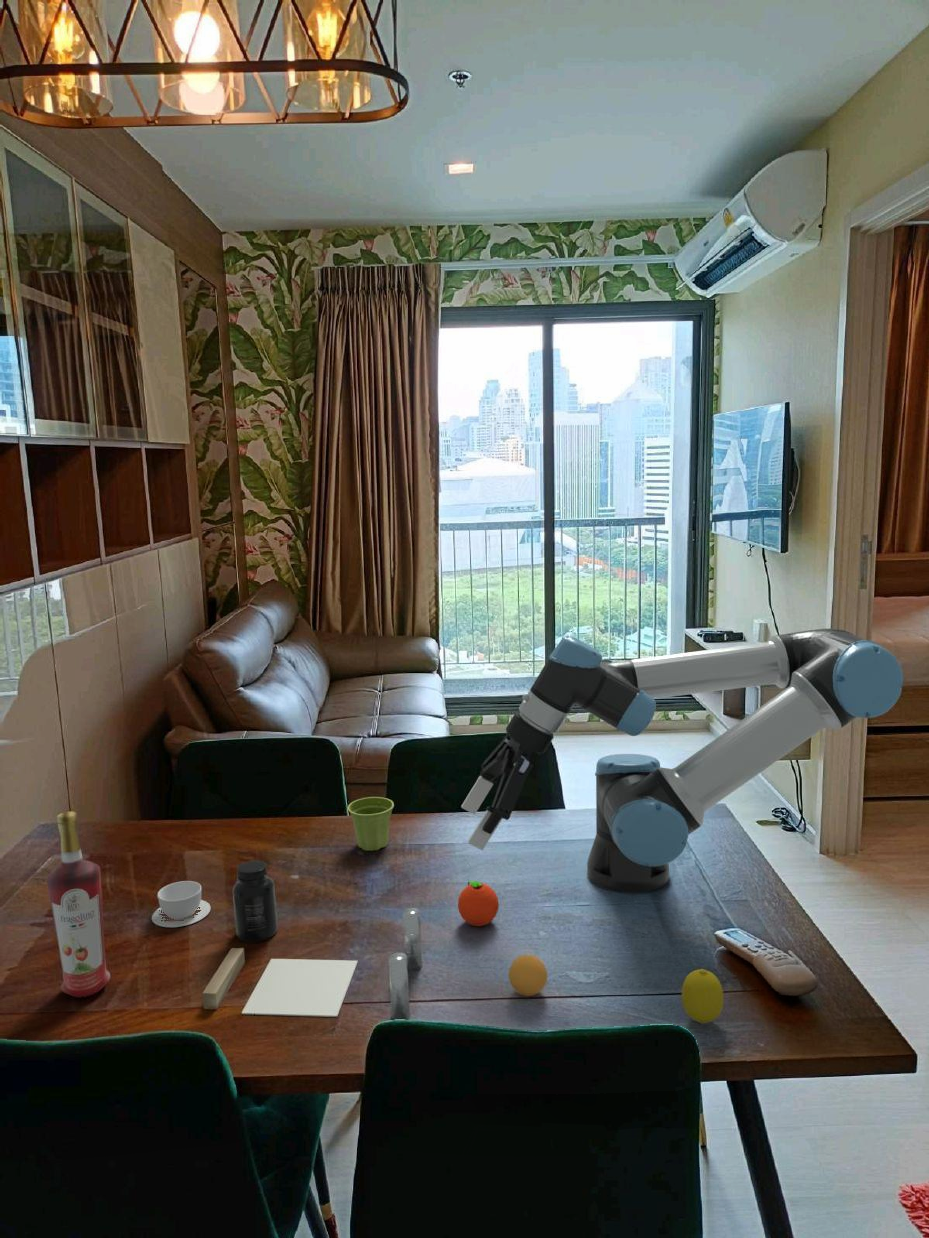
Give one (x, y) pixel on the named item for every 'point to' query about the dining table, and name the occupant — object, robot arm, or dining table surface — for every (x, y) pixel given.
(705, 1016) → the lemon
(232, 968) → the wall
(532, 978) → the ball
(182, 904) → the teacup
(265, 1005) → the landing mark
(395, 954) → the post
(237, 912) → the supplement bottle
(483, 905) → the clementine
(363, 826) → the plant pot
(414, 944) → the post
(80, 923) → the liquor
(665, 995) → the dining table surface
